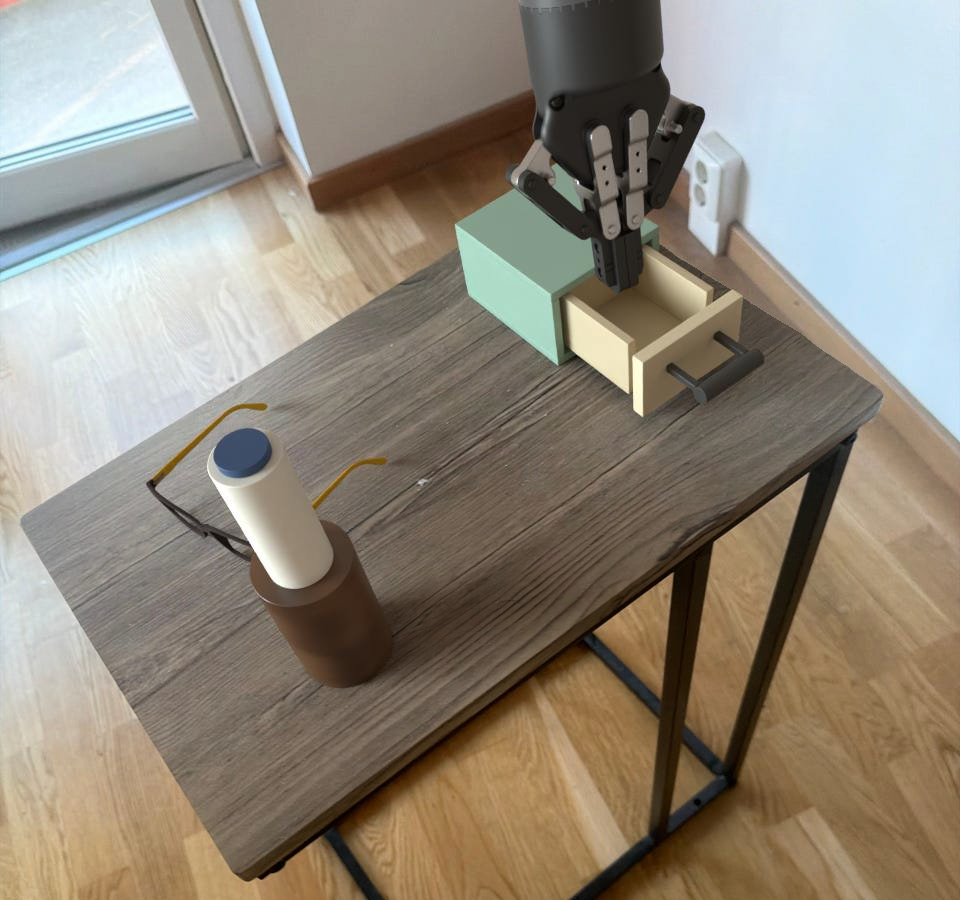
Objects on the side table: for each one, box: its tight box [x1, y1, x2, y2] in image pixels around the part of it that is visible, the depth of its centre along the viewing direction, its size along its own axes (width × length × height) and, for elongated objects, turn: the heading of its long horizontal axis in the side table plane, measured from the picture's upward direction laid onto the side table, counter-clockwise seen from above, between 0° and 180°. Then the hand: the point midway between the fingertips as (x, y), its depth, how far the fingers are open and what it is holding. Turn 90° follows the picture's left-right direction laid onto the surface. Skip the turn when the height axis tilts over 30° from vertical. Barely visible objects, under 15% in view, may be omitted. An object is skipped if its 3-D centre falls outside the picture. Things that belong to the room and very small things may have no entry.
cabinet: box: [454, 162, 660, 367], centre depth 83 cm, size 14×12×8 cm
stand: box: [248, 518, 393, 689], centre depth 65 cm, size 7×7×11 cm
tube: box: [206, 427, 333, 589], centre depth 56 cm, size 4×4×11 cm
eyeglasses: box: [145, 402, 388, 563], centre depth 77 cm, size 14×14×4 cm
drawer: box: [559, 244, 766, 418], centre depth 76 cm, size 17×10×6 cm, turn 36°
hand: (621, 285), depth 62 cm, fingers closed
